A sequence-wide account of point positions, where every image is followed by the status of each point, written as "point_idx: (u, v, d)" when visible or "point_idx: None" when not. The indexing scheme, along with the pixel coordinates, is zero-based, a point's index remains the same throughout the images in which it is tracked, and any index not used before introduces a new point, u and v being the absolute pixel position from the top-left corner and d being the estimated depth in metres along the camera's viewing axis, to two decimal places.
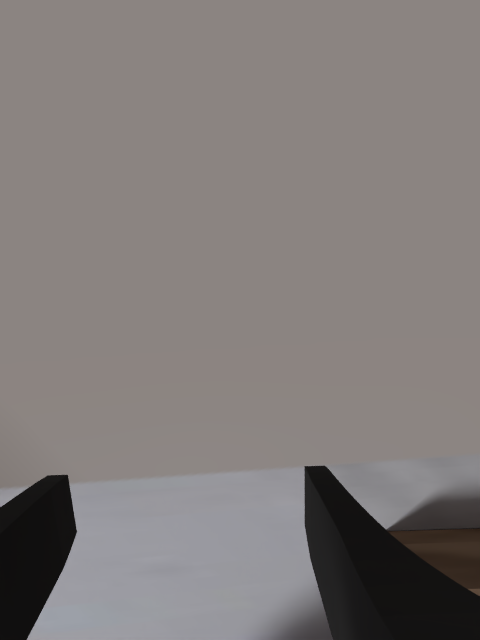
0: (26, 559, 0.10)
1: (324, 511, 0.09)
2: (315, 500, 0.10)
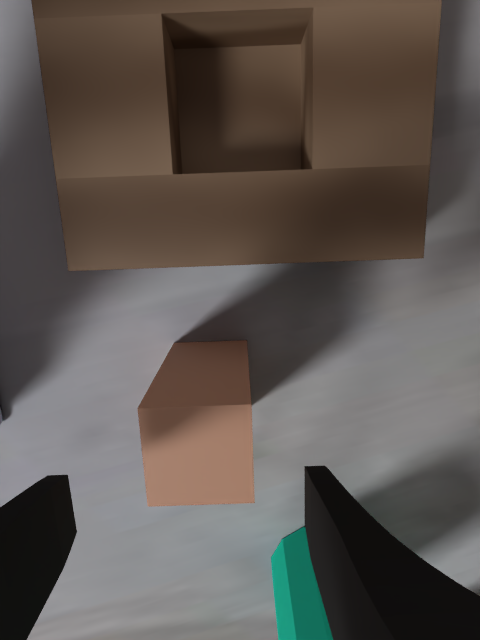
0: (26, 559, 0.10)
1: (324, 511, 0.09)
2: (315, 500, 0.10)
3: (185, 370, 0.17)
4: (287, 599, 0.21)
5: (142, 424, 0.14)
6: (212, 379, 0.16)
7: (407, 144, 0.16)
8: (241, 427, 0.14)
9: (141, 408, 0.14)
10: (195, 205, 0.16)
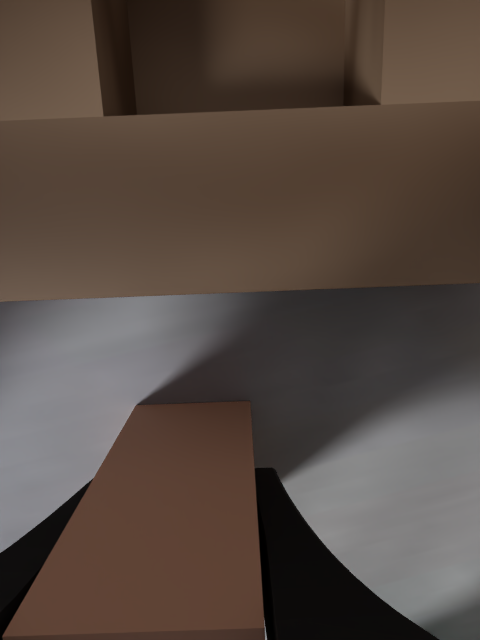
0: None
1: (259, 513, 0.09)
2: None
3: (139, 481, 0.10)
4: None
5: None
6: (184, 515, 0.08)
7: None
8: None
9: (11, 637, 0.06)
10: (151, 178, 0.08)
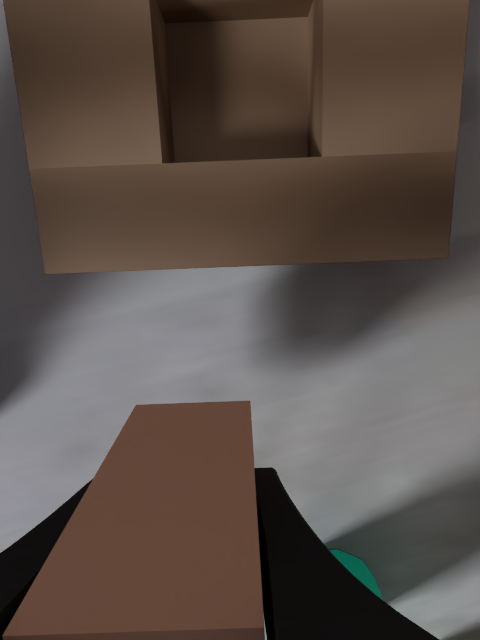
0: None
1: (259, 513, 0.09)
2: None
3: (139, 481, 0.10)
4: None
5: None
6: (184, 515, 0.08)
7: (431, 127, 0.14)
8: None
9: (11, 636, 0.06)
10: (188, 198, 0.14)
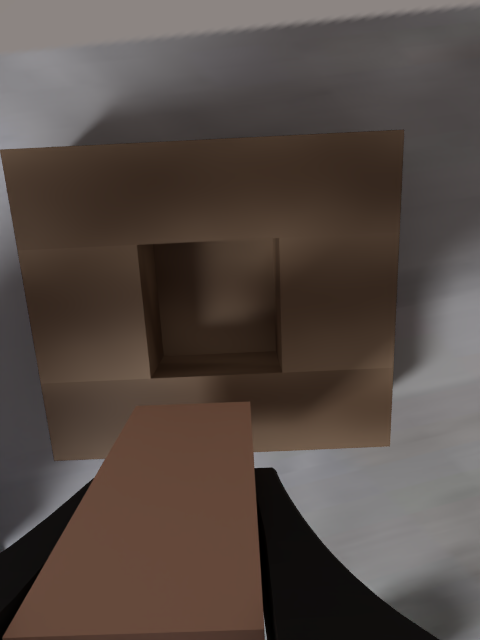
0: None
1: (259, 513, 0.09)
2: (256, 502, 0.10)
3: (139, 482, 0.10)
4: None
5: None
6: (184, 516, 0.08)
7: (371, 350, 0.16)
8: None
9: (11, 638, 0.06)
10: None
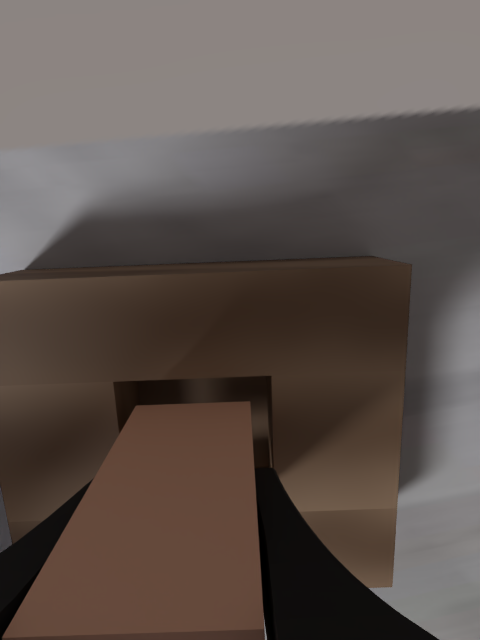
0: None
1: (259, 513, 0.09)
2: (256, 502, 0.10)
3: (139, 482, 0.10)
4: None
5: None
6: (184, 516, 0.08)
7: (372, 491, 0.15)
8: None
9: (10, 638, 0.06)
10: None
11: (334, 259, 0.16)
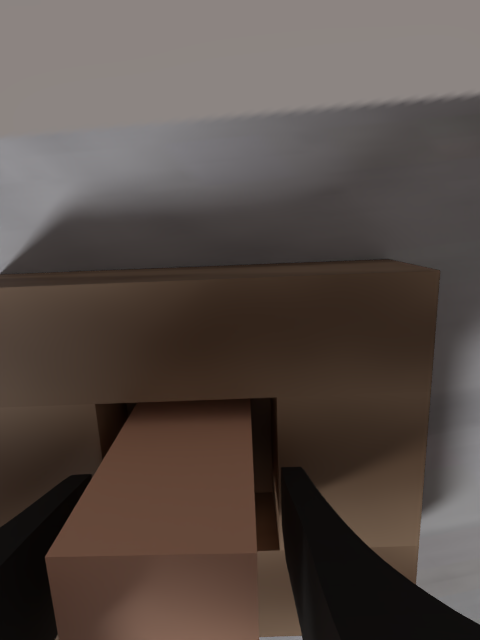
0: None
1: (294, 512, 0.09)
2: (288, 501, 0.10)
3: (151, 448, 0.11)
4: None
5: (55, 584, 0.08)
6: (191, 474, 0.10)
7: (391, 526, 0.13)
8: (238, 592, 0.08)
9: (52, 557, 0.07)
10: None
11: (347, 263, 0.14)
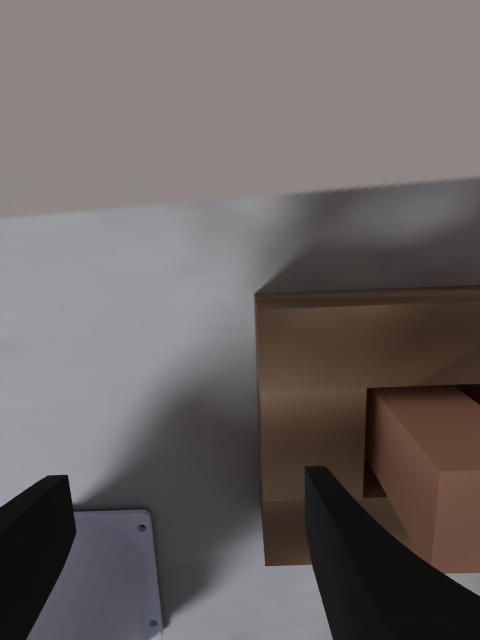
0: (26, 559, 0.10)
1: (324, 511, 0.09)
2: (315, 500, 0.10)
3: (424, 416, 0.16)
4: None
5: (441, 488, 0.13)
6: (472, 430, 0.15)
7: None
8: None
9: (444, 471, 0.13)
10: (379, 519, 0.19)
11: None
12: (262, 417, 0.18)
